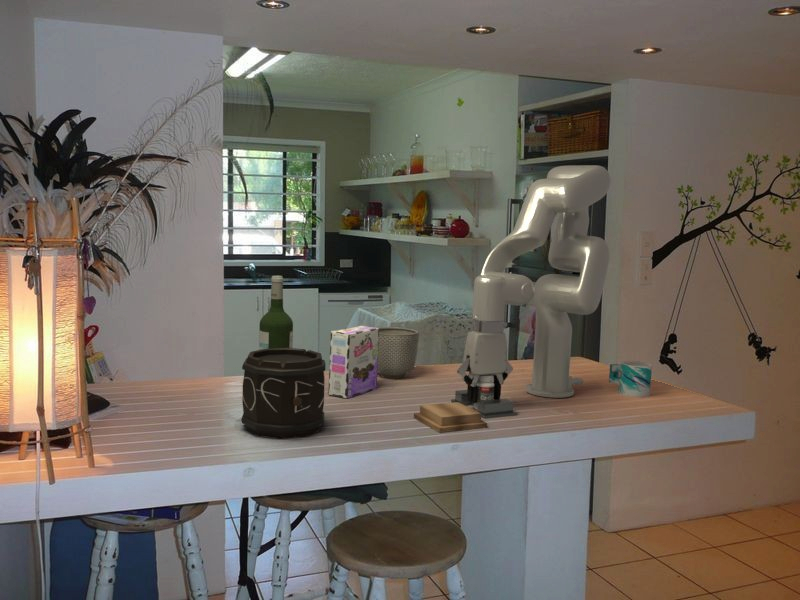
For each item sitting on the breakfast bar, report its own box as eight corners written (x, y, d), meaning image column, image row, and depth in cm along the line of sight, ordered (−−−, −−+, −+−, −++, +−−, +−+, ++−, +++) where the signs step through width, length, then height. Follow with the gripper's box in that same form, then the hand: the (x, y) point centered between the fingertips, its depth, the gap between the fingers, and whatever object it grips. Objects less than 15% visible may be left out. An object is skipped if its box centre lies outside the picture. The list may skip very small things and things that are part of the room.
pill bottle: (480, 411, 178) (482, 377, 177) (469, 406, 182) (471, 373, 181) (497, 410, 180) (498, 375, 179) (485, 405, 184) (487, 371, 183)
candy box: (346, 399, 184) (348, 333, 182) (327, 395, 187) (329, 330, 185) (377, 389, 196) (380, 327, 194) (359, 385, 199) (361, 324, 197)
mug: (634, 398, 197) (637, 367, 196) (601, 388, 207) (603, 358, 206) (656, 395, 201) (658, 365, 200) (622, 386, 211) (624, 356, 210)
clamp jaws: (481, 399, 190) (482, 387, 189) (517, 415, 176) (517, 402, 176) (451, 401, 186) (451, 390, 185) (484, 418, 172) (485, 405, 172)
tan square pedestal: (459, 413, 176) (459, 400, 175) (486, 427, 165) (487, 414, 164) (413, 417, 170) (414, 404, 170) (439, 432, 160) (440, 419, 159)
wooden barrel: (250, 444, 147) (251, 365, 145) (232, 419, 163) (233, 348, 161) (337, 436, 154) (340, 361, 152) (312, 413, 170) (314, 345, 168)
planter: (372, 369, 220) (374, 325, 218) (419, 372, 218) (421, 328, 216) (364, 379, 206) (365, 333, 204) (414, 383, 204) (416, 336, 203)
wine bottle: (297, 400, 181) (300, 277, 178) (271, 405, 176) (274, 278, 172) (277, 393, 187) (280, 274, 183) (251, 398, 181) (253, 275, 177)
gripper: (508, 323, 186) (504, 394, 188) (448, 325, 178) (444, 399, 180) (526, 328, 179) (522, 401, 181) (465, 330, 171) (461, 407, 173)
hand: (483, 400), depth 181 cm, fingers open, 5 cm apart
